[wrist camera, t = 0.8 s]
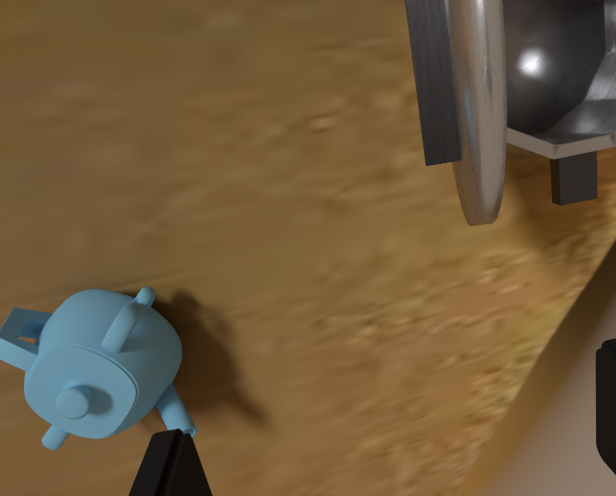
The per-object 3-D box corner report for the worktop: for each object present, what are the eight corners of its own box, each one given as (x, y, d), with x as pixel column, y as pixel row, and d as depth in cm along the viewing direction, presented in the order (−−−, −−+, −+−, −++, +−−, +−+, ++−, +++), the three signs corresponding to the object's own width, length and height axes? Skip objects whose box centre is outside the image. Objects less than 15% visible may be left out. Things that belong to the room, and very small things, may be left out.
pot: (375, -88, 39) (404, -158, 29) (607, -137, 38) (714, -224, 29) (415, 208, 46) (450, 231, 36) (611, 168, 45) (699, 180, 36)
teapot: (5, 355, 48) (-83, 428, 37) (76, 227, 45) (4, 263, 33) (172, 440, 52) (140, 530, 40) (250, 328, 48) (238, 391, 37)
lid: (435, -105, 29) (392, -91, 30) (472, -414, 12) (363, -363, 12) (465, 186, 35) (428, 192, 35) (523, 282, 17) (444, 289, 17)
